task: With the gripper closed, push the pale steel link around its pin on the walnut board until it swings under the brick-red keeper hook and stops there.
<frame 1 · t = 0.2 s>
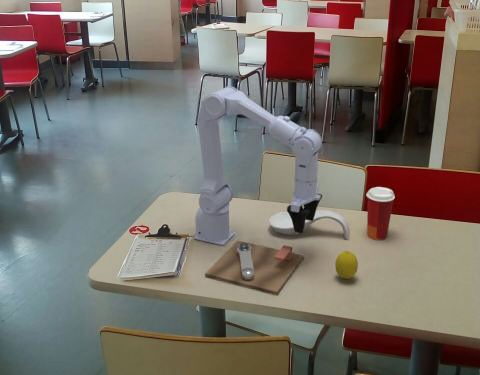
hand: (304, 225, 144), 10 cm above the table, tool pointing down, fingers open, 7 cm apart
lemon: (345, 279, 139), on the table
paper cup: (376, 236, 159), on the table
link: (246, 259, 143), point 3 cm above the table, hinge at -60.0°
spoon rest: (308, 233, 162), on the table
board: (255, 267, 144), on the table
keeper: (284, 263, 146), resting on board
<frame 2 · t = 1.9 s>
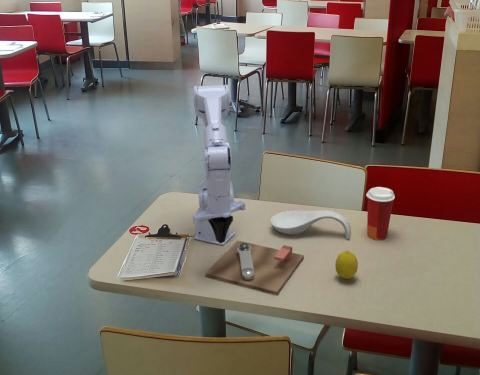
hand: (220, 241, 140), 8 cm above the table, tool pointing down, fingers closed
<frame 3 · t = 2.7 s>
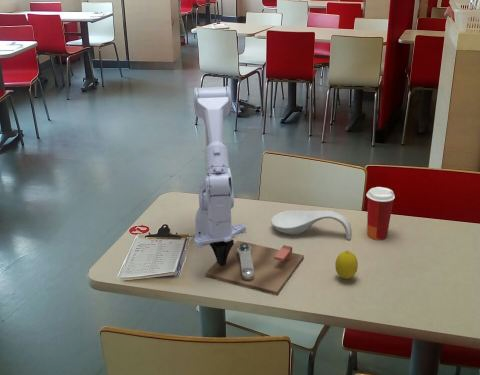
hand: (221, 263, 143), 2 cm above the table, tool pointing down, fingers closed
nothing on the table moved.
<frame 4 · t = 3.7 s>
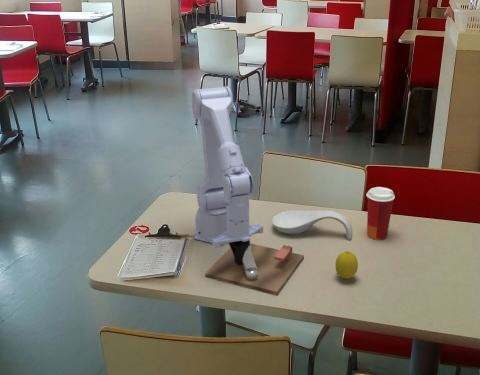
hand: (238, 263, 143), 2 cm above the table, tool pointing down, fingers closed, pressing on link
link: (247, 259, 143), point 3 cm above the table, hinge at -55.5°, touching gripper
everything else where it was.
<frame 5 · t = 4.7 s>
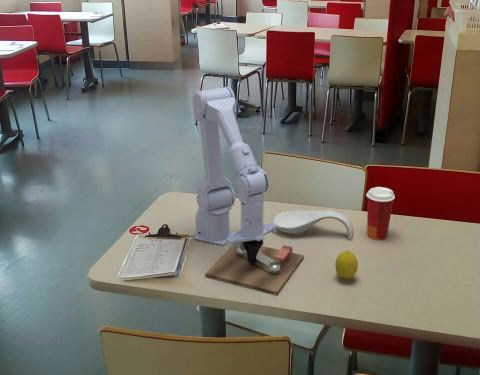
hand: (251, 262, 143), 2 cm above the table, tool pointing down, fingers closed, pressing on link
link: (258, 257, 144), point 3 cm above the table, hinge at -24.5°, touching gripper
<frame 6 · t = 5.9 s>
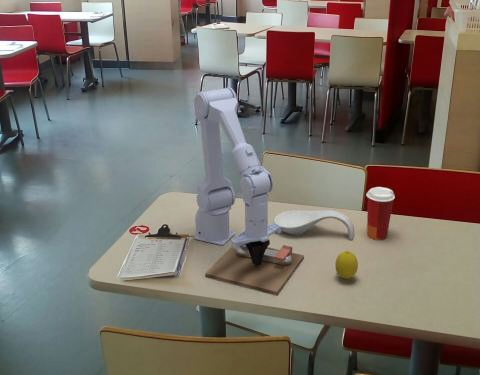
hand: (256, 263, 143), 2 cm above the table, tool pointing down, fingers closed
link: (263, 253, 146), point 3 cm above the table, hinge at 1.2°
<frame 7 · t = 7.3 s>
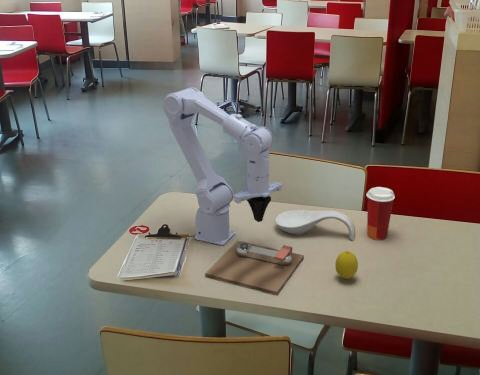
hand: (258, 220, 149), 9 cm above the table, tool pointing down, fingers closed
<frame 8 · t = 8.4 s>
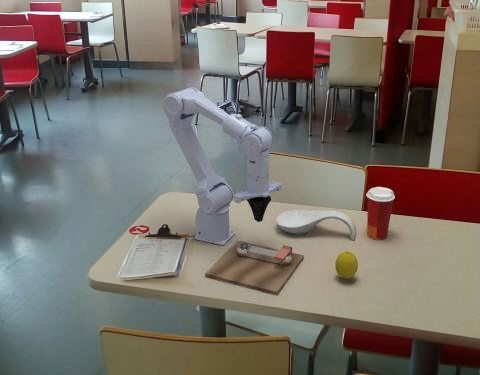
hand: (258, 220, 149), 9 cm above the table, tool pointing down, fingers closed
at the end: link at +1° (first picture: -60°) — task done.
